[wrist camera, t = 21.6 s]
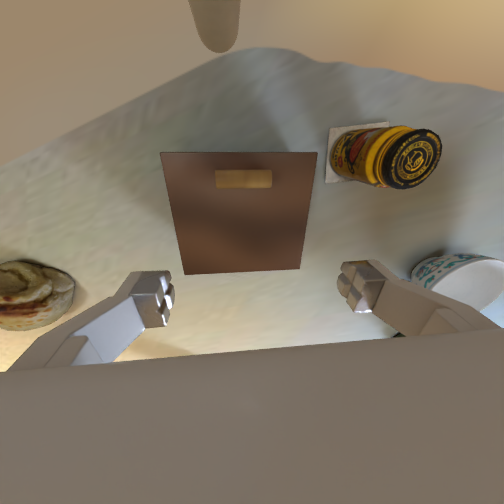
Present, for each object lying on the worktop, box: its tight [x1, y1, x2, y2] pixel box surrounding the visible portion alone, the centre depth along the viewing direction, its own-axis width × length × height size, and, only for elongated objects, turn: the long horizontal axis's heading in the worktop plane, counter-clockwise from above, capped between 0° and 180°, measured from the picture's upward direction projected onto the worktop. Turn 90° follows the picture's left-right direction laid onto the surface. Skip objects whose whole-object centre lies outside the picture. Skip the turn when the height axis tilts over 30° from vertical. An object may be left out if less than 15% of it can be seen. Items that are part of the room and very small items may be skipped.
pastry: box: [0, 261, 75, 331], centre depth 31 cm, size 14×12×8 cm
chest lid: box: [160, 152, 318, 275], centre depth 22 cm, size 14×16×4 cm
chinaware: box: [411, 254, 504, 312], centre depth 39 cm, size 15×15×8 cm
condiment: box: [325, 121, 442, 189], centre depth 24 cm, size 7×8×12 cm
